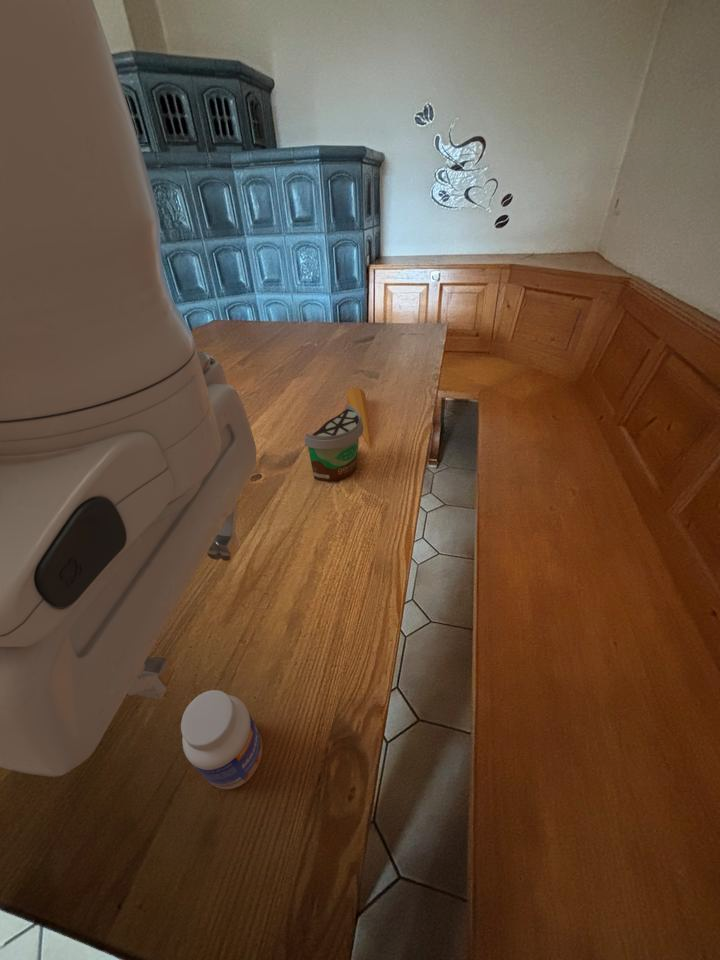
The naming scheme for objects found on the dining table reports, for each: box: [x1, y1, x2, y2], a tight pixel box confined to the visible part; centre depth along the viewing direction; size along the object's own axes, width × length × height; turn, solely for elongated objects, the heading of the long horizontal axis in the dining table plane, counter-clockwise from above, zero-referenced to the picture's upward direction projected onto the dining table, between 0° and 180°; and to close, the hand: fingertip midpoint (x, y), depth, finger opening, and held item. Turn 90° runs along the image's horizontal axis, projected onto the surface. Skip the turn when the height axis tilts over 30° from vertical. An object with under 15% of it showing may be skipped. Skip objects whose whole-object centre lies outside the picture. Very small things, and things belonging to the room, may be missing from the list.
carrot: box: [346, 386, 372, 450], centre depth 81 cm, size 20×4×4 cm, turn 10°
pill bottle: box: [180, 689, 263, 790], centre depth 33 cm, size 5×5×10 cm
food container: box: [304, 403, 363, 483], centre depth 66 cm, size 12×6×10 cm, turn 147°
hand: (195, 608), depth 25 cm, fingers open, 8 cm apart
